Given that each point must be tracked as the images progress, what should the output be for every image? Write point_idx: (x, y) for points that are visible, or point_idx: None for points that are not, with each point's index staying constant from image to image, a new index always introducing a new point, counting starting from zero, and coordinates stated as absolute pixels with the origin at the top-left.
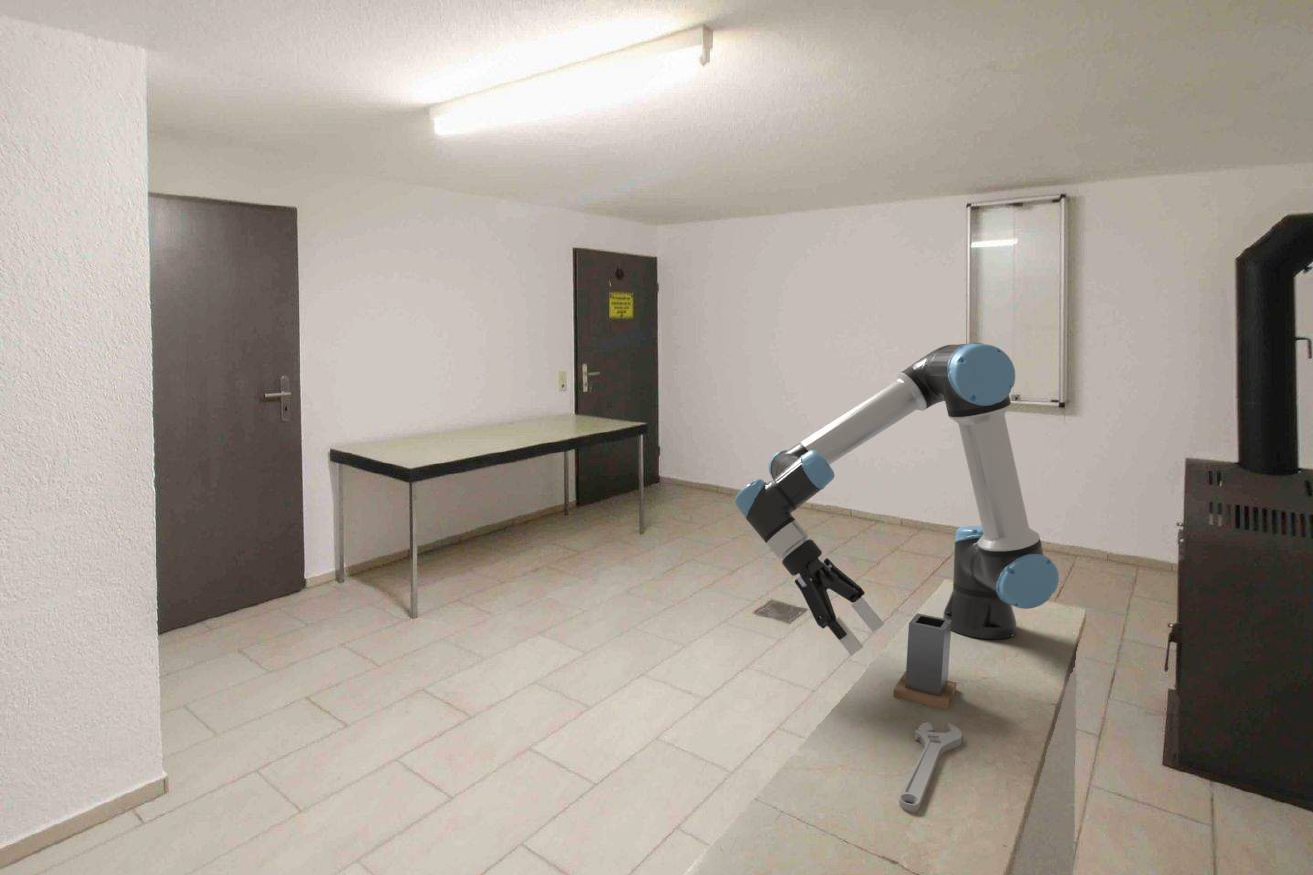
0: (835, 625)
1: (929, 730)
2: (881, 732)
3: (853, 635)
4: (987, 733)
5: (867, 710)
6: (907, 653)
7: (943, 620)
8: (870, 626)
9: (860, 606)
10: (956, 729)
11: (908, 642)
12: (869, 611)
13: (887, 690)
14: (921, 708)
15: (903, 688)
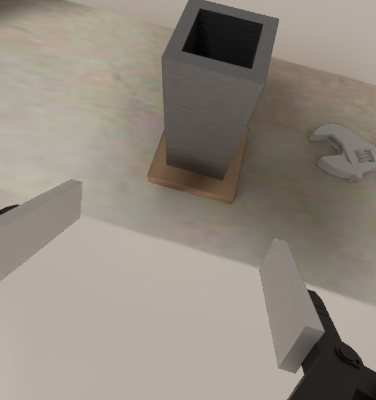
0: (335, 337)
1: (345, 159)
2: (360, 225)
3: (290, 263)
4: (291, 101)
5: (299, 246)
6: (238, 143)
7: (198, 12)
8: (70, 220)
9: (20, 240)
10: (324, 128)
11: (246, 125)
12: (45, 210)
13: (209, 212)
14: (255, 166)
15: (224, 183)
